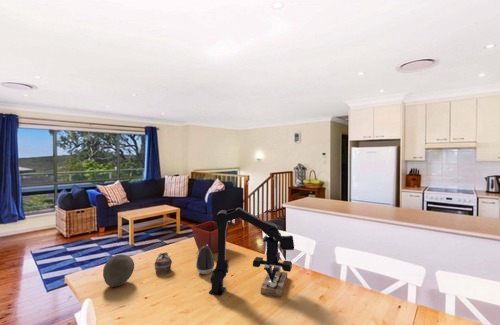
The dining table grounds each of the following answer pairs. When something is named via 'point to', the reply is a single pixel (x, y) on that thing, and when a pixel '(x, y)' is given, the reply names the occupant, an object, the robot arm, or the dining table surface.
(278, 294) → the brown wooden tray
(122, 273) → the dark grey stone
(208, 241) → the plant pot
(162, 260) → the cupcake
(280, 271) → the peach egg-shaped piece
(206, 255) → the dark grey ovoid piece
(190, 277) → the dining table surface
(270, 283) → the plug metal near
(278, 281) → the plug metal mid
